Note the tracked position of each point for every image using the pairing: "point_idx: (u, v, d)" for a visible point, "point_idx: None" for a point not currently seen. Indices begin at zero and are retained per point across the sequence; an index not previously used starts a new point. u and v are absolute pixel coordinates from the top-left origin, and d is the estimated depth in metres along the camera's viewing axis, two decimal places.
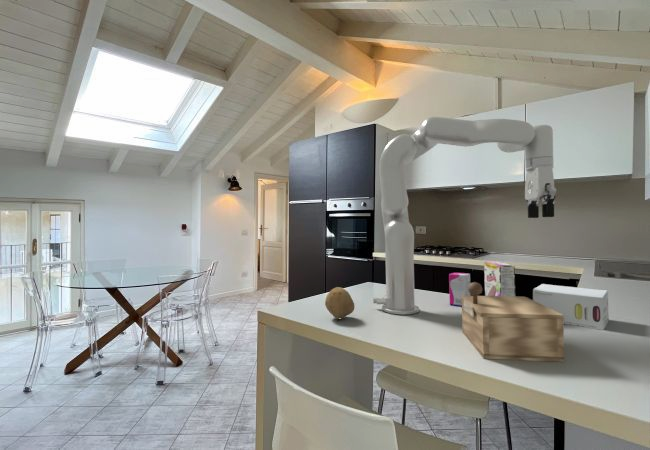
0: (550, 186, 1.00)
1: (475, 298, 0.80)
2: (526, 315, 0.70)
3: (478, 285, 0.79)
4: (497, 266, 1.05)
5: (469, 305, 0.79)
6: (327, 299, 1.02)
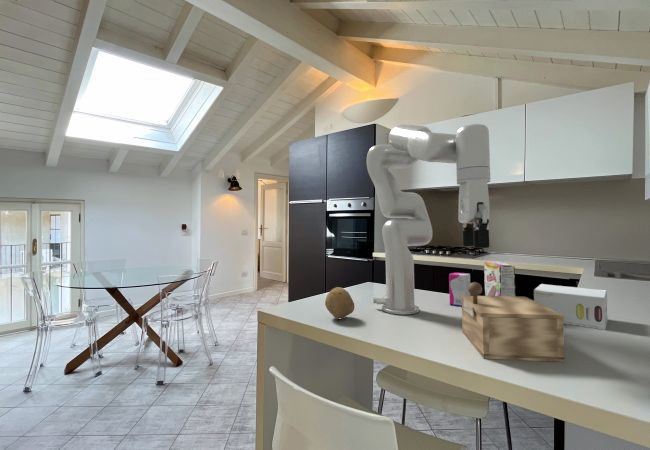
0: (482, 206, 0.74)
1: (475, 298, 0.80)
2: (526, 315, 0.70)
3: (478, 285, 0.79)
4: (497, 266, 1.05)
5: (469, 305, 0.79)
6: (327, 299, 1.02)
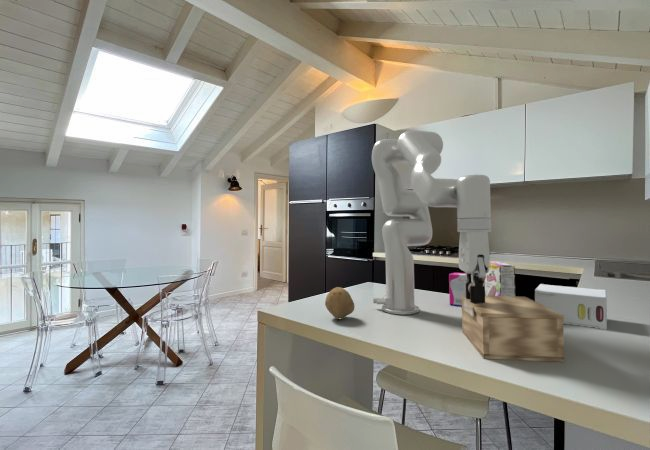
0: (481, 267, 0.75)
1: None
2: (526, 315, 0.70)
3: None
4: (497, 266, 1.05)
5: (469, 305, 0.79)
6: (327, 299, 1.02)
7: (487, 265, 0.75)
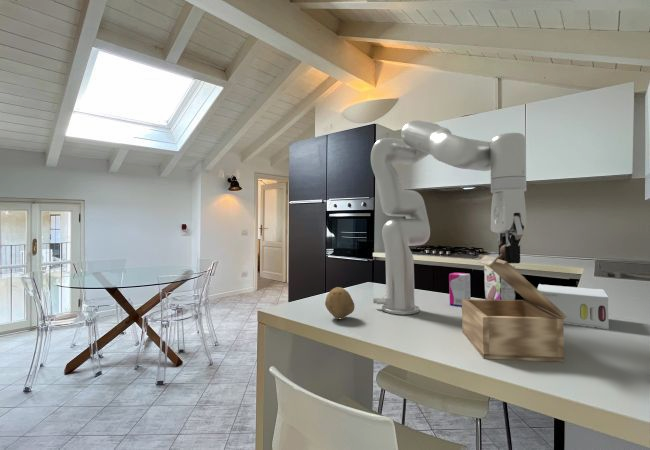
0: (518, 225, 0.74)
1: (500, 257, 0.79)
2: (539, 292, 0.70)
3: None
4: None
5: (492, 257, 0.78)
6: (327, 299, 1.02)
7: (524, 223, 0.74)
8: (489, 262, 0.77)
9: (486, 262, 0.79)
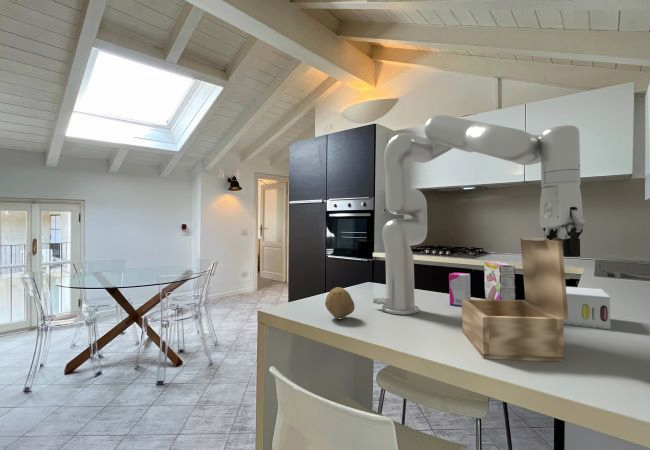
0: (577, 215, 0.71)
1: None
2: (564, 284, 0.69)
3: None
4: (497, 266, 1.05)
5: (542, 238, 0.77)
6: (327, 299, 1.02)
7: None
8: None
9: (534, 238, 0.77)
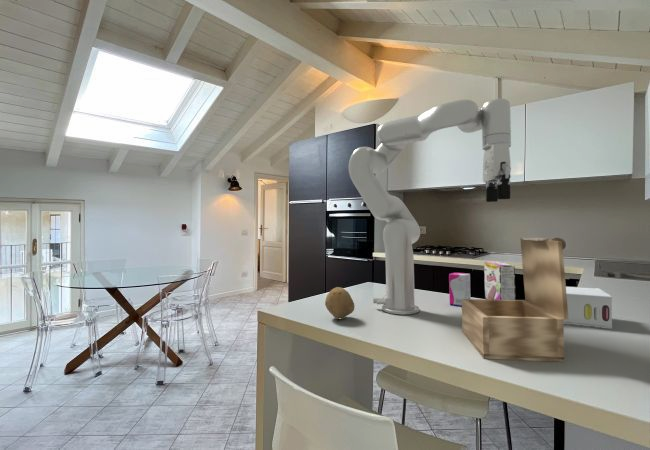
0: (505, 165, 0.91)
1: None
2: (564, 284, 0.69)
3: (564, 246, 0.76)
4: (497, 266, 1.05)
5: (542, 238, 0.77)
6: (327, 299, 1.02)
7: None
8: None
9: (534, 238, 0.77)
